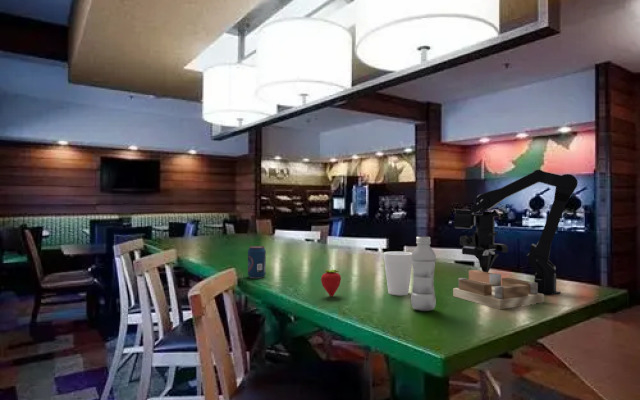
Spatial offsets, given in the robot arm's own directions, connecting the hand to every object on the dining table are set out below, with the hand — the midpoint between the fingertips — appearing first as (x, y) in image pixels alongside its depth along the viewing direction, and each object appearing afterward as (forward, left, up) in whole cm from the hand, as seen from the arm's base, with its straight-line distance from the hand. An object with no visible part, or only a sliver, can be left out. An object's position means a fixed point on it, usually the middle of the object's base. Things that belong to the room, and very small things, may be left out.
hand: (485, 274), depth 147 cm
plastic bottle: (+40, +16, -5) cm, 44 cm away
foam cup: (+33, -5, -5) cm, 34 cm away
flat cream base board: (+11, +15, -5) cm, 20 cm away
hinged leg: (+4, +4, -2) cm, 6 cm away
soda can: (+66, -53, -5) cm, 85 cm away
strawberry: (+55, -10, -5) cm, 56 cm away
